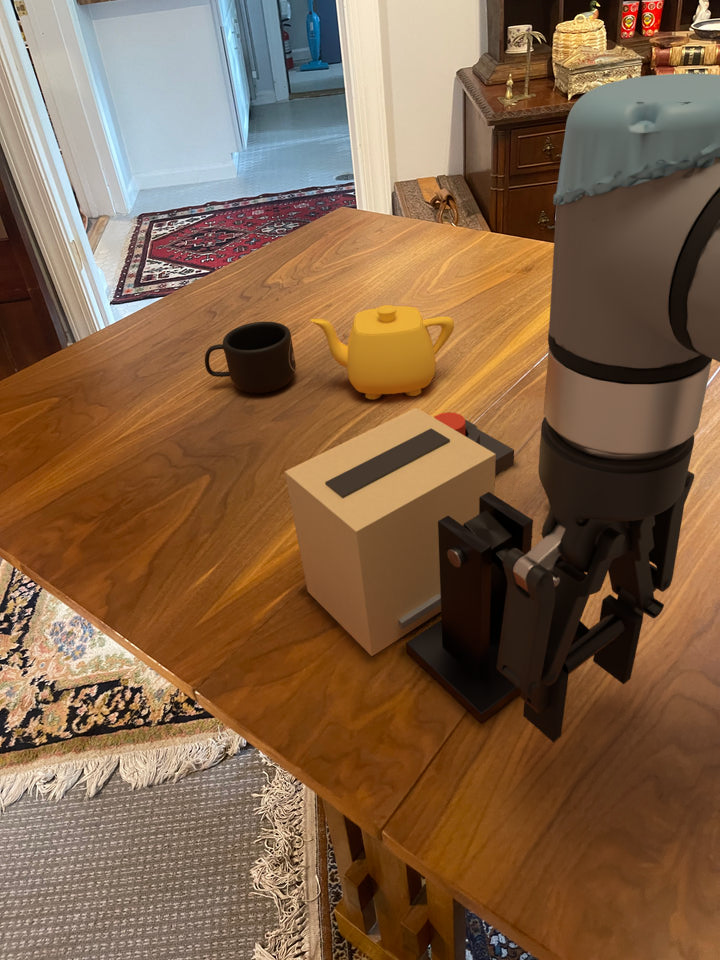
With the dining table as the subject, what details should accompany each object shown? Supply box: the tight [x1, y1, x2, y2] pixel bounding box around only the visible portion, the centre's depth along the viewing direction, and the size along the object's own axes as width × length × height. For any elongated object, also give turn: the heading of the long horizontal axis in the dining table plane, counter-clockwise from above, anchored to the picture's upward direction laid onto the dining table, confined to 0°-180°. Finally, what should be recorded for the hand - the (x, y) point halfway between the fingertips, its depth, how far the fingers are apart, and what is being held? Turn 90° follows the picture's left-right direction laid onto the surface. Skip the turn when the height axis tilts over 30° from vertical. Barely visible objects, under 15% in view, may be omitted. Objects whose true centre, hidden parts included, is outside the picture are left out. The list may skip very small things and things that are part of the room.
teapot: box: [309, 304, 455, 400], centre depth 94 cm, size 18×11×11 cm, turn 91°
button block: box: [465, 419, 515, 476], centre depth 81 cm, size 10×10×4 cm
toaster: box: [284, 407, 496, 657], centre depth 63 cm, size 10×14×14 cm
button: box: [433, 411, 466, 436], centre depth 79 cm, size 4×4×2 cm
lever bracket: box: [405, 492, 534, 724], centre depth 56 cm, size 9×9×15 cm
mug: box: [204, 321, 297, 394], centre depth 99 cm, size 12×9×7 cm
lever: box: [463, 510, 625, 676], centre depth 50 cm, size 12×6×2 cm, turn 36°
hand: (577, 696), depth 51 cm, fingers open, 6 cm apart
